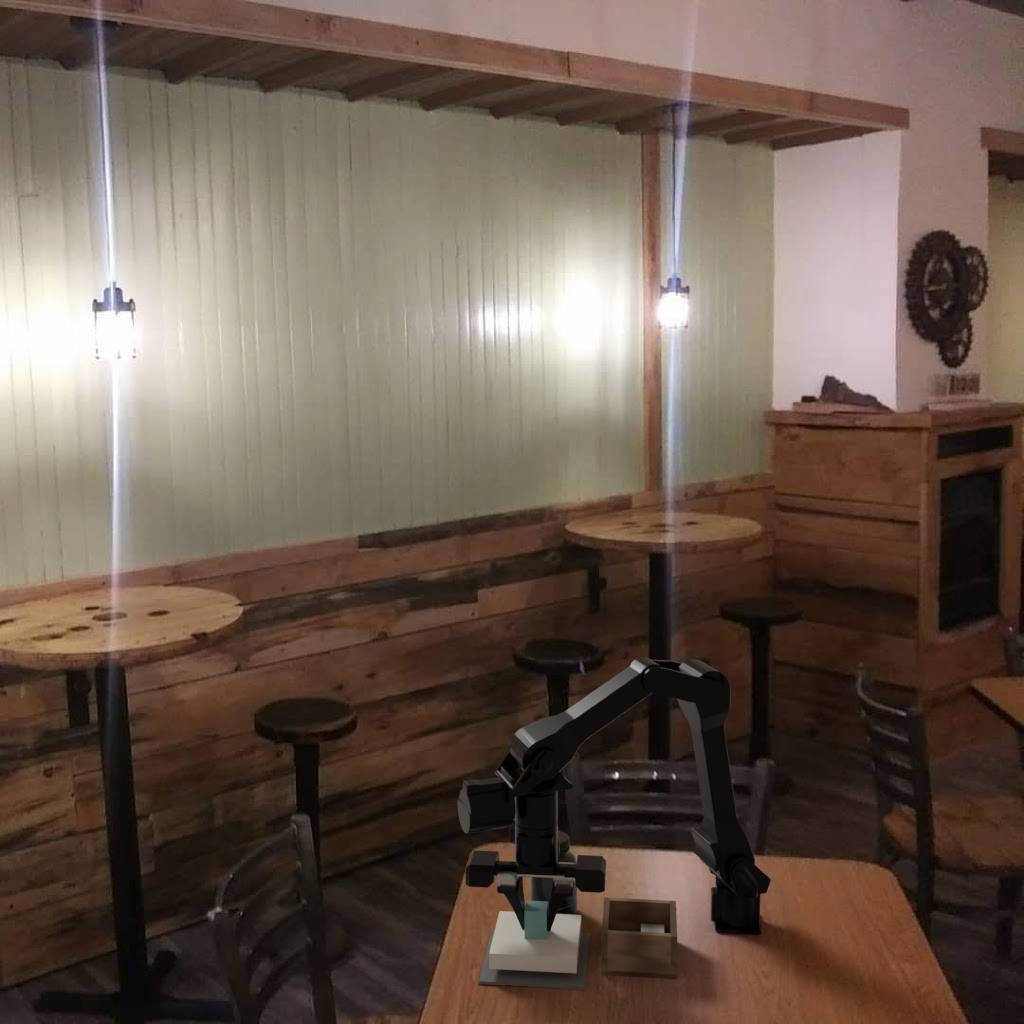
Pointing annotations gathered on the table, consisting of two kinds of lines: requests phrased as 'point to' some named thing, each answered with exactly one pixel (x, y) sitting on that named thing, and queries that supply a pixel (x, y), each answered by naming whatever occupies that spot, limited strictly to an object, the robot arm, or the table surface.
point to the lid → (536, 941)
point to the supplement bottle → (544, 885)
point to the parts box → (639, 938)
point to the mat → (538, 972)
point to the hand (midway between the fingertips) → (536, 929)
